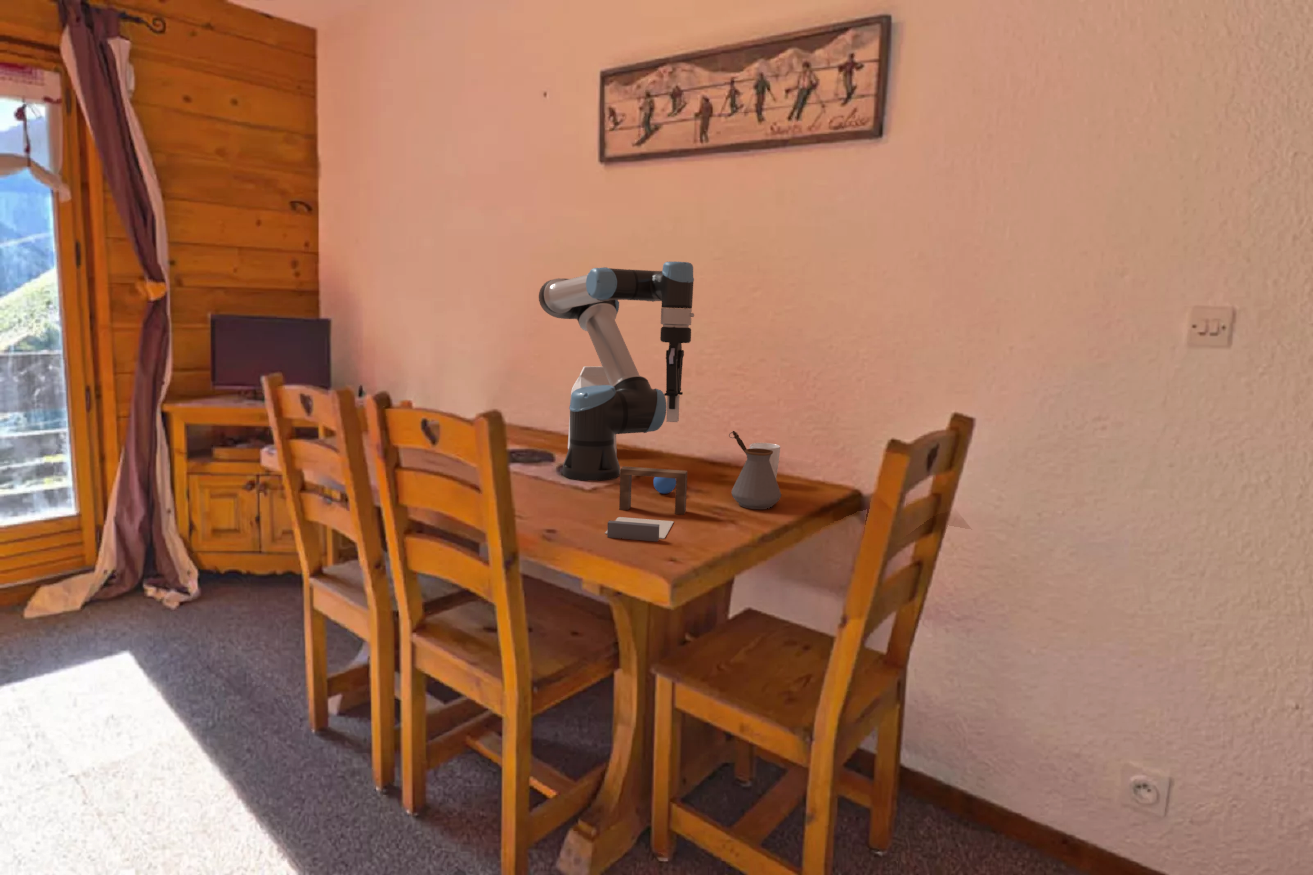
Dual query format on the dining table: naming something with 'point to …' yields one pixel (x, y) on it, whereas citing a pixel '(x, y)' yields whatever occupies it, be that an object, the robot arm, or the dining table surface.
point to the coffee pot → (756, 479)
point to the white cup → (774, 457)
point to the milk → (591, 378)
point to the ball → (664, 484)
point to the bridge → (651, 472)
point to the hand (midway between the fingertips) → (672, 421)
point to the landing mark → (663, 525)
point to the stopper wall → (633, 530)
